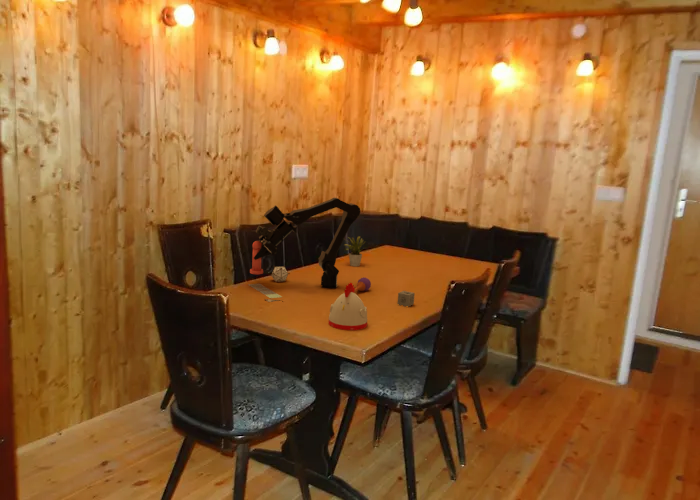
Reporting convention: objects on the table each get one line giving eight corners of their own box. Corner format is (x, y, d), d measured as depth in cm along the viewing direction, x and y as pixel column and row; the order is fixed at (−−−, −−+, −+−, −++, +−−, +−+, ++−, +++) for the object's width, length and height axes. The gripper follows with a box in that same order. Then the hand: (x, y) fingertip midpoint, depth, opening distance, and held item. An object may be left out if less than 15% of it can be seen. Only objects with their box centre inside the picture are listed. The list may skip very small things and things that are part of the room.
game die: (281, 291, 256) (285, 277, 249) (265, 283, 257) (268, 269, 250) (290, 279, 262) (294, 265, 255) (274, 271, 263) (277, 257, 256)
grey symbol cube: (408, 307, 229) (409, 295, 228) (397, 304, 232) (398, 293, 231) (413, 304, 233) (414, 292, 233) (402, 302, 236) (403, 290, 235)
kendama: (340, 288, 237) (359, 276, 255) (342, 302, 238) (361, 289, 256) (353, 288, 234) (371, 275, 252) (355, 302, 235) (373, 288, 253)
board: (243, 286, 247) (243, 283, 247) (261, 284, 251) (261, 282, 251) (268, 301, 225) (268, 299, 224) (288, 299, 229) (288, 297, 229)
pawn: (264, 272, 247) (265, 240, 244) (261, 274, 241) (262, 242, 239) (251, 271, 247) (252, 239, 245) (248, 273, 242) (249, 241, 239)
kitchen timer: (322, 326, 199) (324, 284, 196) (337, 316, 211) (339, 277, 209) (359, 332, 194) (362, 290, 191) (372, 322, 207) (375, 282, 204)
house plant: (343, 261, 313) (345, 232, 310) (368, 263, 311) (370, 234, 308) (339, 266, 299) (341, 235, 296) (365, 268, 297) (367, 237, 294)
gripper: (264, 216, 250) (238, 241, 249) (270, 222, 232) (242, 248, 231) (281, 234, 254) (256, 258, 253) (288, 241, 236) (261, 267, 235)
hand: (253, 257), depth 243 cm, fingers closed on pawn, 4 cm apart
